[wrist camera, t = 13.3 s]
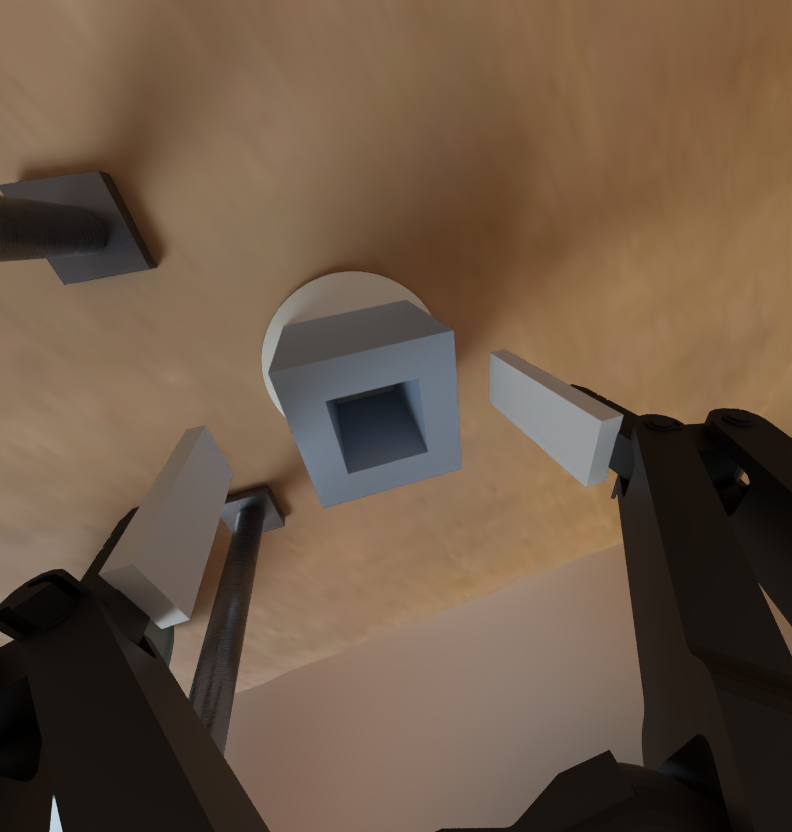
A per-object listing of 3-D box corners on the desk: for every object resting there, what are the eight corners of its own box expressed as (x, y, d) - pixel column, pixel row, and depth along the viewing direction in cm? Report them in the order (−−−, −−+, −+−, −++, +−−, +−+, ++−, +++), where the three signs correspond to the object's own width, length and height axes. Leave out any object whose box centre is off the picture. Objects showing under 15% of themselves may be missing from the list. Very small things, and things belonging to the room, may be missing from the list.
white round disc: (297, 456, 22) (297, 461, 21) (230, 293, 16) (227, 295, 16) (445, 417, 23) (448, 421, 23) (431, 253, 17) (434, 253, 17)
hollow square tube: (319, 430, 21) (322, 508, 15) (283, 326, 17) (268, 373, 11) (420, 404, 21) (461, 468, 15) (406, 299, 18) (453, 330, 12)
